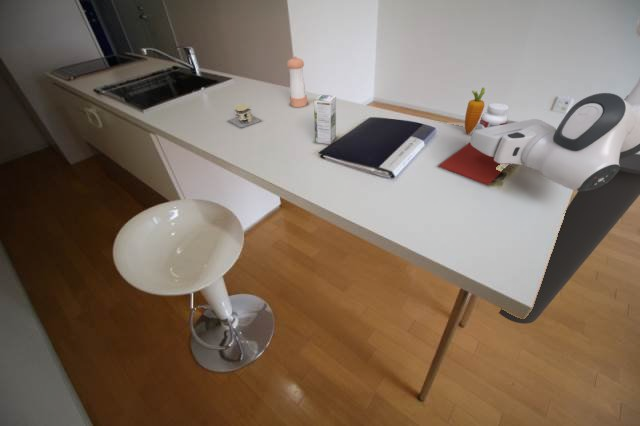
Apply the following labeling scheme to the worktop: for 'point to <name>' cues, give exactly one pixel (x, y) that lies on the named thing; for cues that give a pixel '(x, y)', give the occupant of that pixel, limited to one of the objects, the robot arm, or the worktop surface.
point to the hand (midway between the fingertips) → (489, 123)
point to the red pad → (472, 165)
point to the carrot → (474, 111)
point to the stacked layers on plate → (243, 116)
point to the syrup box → (325, 118)
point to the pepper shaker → (297, 82)
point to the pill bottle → (495, 115)
